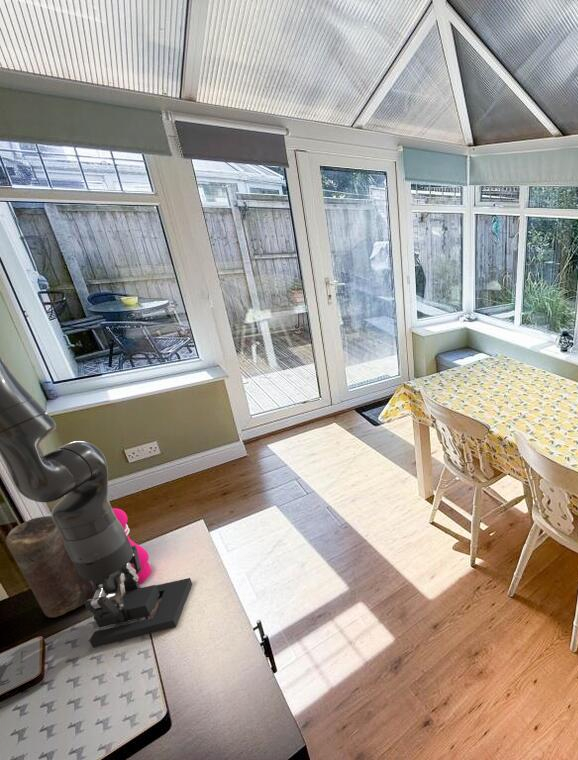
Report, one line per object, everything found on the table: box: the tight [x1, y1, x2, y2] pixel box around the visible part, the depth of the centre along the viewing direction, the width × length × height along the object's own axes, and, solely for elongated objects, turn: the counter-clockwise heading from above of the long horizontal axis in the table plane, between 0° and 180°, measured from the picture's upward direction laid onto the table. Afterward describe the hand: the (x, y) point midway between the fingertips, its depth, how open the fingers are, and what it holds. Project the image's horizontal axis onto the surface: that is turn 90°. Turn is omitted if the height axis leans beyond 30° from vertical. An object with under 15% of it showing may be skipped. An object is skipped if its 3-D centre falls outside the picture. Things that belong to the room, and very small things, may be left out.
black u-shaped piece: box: [88, 577, 193, 649], centre depth 83 cm, size 13×10×2 cm
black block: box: [93, 584, 160, 629], centre depth 81 cm, size 8×5×3 cm, turn 110°
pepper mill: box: [112, 507, 152, 585], centre depth 87 cm, size 7×7×20 cm
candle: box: [5, 515, 94, 618], centre depth 81 cm, size 8×7×20 cm
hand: (129, 608), depth 82 cm, fingers closed on black block, 5 cm apart
